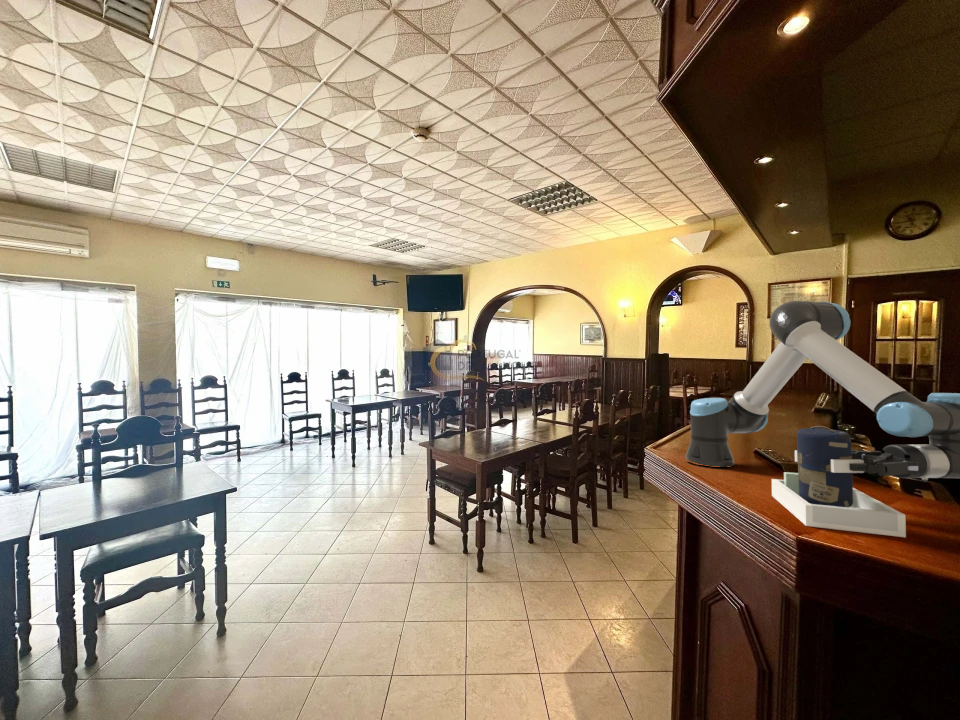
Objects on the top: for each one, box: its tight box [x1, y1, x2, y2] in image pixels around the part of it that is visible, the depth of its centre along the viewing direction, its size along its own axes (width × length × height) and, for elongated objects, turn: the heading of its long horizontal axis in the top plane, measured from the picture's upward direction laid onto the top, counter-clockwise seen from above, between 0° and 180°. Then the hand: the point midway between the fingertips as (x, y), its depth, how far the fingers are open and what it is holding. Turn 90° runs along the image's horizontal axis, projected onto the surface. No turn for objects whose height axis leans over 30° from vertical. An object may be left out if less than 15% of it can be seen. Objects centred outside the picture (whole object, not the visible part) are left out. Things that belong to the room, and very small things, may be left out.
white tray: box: [771, 478, 907, 538], centre depth 93 cm, size 22×16×4 cm
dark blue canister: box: [796, 425, 854, 508], centre depth 91 cm, size 10×10×18 cm
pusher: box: [783, 471, 799, 495], centre depth 99 cm, size 2×13×6 cm, turn 69°
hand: (813, 460), depth 91 cm, fingers closed on dark blue canister, 9 cm apart
